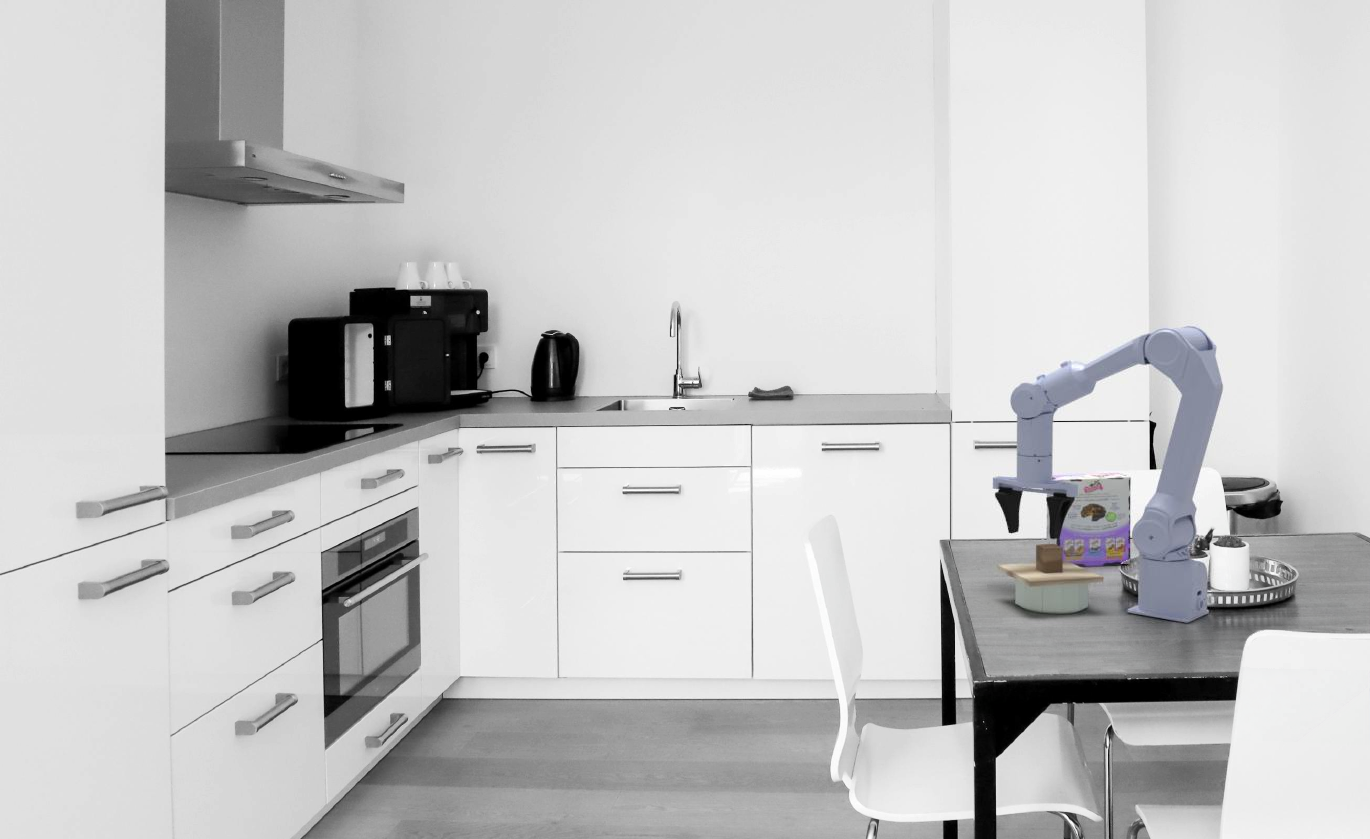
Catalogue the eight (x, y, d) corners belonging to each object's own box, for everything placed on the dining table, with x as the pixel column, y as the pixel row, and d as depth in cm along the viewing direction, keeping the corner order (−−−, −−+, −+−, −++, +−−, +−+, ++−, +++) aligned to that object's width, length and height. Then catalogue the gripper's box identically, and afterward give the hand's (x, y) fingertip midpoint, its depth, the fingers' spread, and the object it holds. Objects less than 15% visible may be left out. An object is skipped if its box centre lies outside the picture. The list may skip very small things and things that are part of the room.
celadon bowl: (1100, 605, 187) (1100, 574, 187) (1066, 618, 179) (1066, 586, 179) (1037, 594, 195) (1037, 564, 194) (1002, 606, 187) (1002, 576, 187)
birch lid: (1103, 582, 181) (1103, 551, 181) (1030, 586, 179) (1030, 555, 179) (1066, 565, 193) (1066, 536, 193) (997, 569, 191) (997, 540, 191)
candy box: (1118, 558, 220) (1119, 471, 218) (1131, 565, 214) (1132, 476, 212) (1045, 560, 219) (1045, 473, 218) (1056, 567, 213) (1057, 478, 212)
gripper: (1087, 455, 192) (1086, 536, 194) (1008, 449, 203) (1007, 526, 204) (1066, 459, 187) (1065, 543, 189) (986, 453, 198) (986, 532, 199)
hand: (1033, 535), depth 196 cm, fingers open, 7 cm apart
